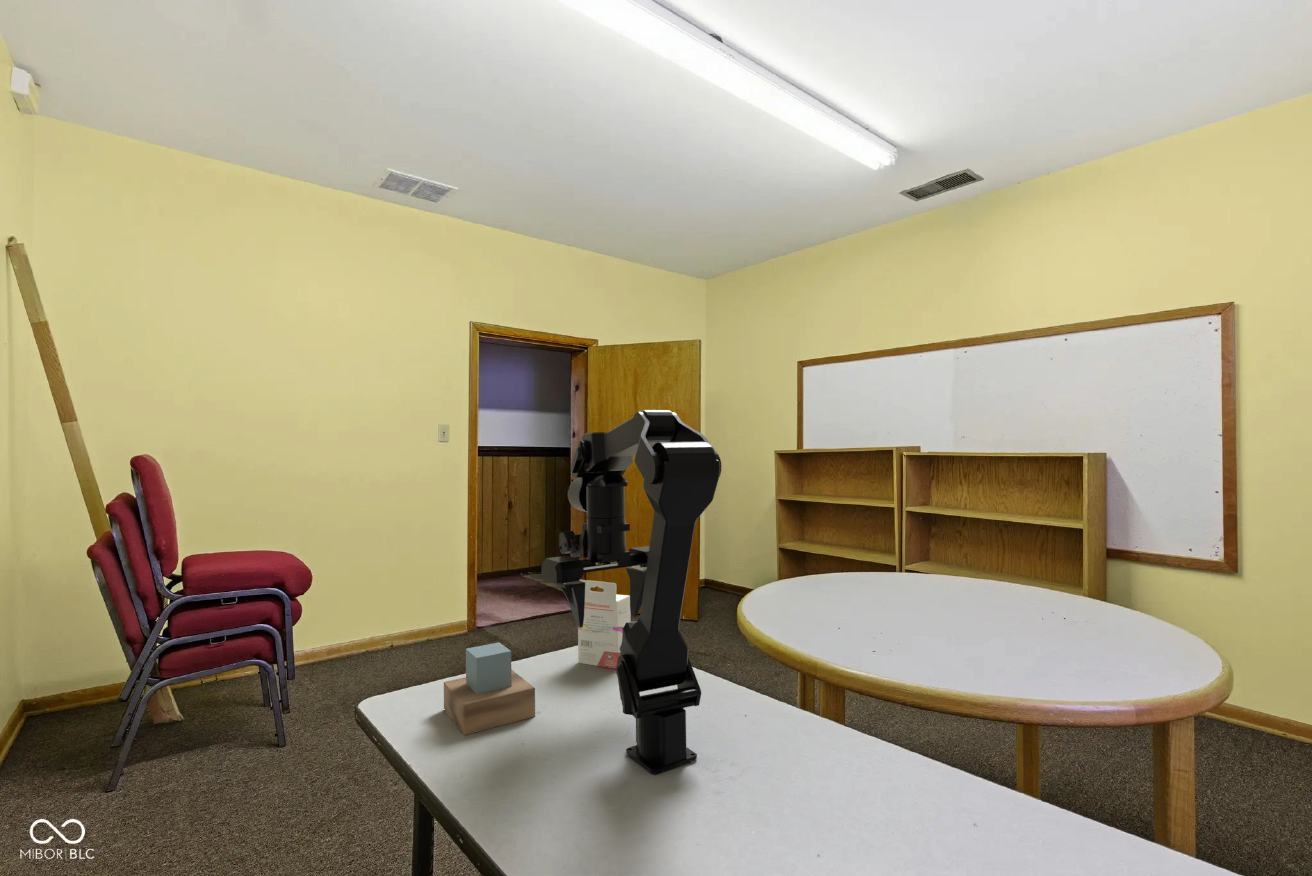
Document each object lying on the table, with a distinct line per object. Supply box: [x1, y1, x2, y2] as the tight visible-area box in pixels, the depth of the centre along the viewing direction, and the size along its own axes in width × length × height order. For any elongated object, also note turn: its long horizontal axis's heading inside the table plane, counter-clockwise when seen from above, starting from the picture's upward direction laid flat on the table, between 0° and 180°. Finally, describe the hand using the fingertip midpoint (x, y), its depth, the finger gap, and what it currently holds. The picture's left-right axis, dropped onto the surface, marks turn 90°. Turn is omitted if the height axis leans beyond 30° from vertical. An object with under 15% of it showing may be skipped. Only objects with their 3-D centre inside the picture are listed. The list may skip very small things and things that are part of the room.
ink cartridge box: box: [577, 579, 632, 670], centre depth 111 cm, size 9×5×15 cm, turn 62°
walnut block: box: [443, 668, 536, 736], centre depth 90 cm, size 10×10×4 cm
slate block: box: [465, 642, 512, 694], centre depth 90 cm, size 5×5×5 cm
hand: (607, 621), depth 93 cm, fingers open, 9 cm apart
